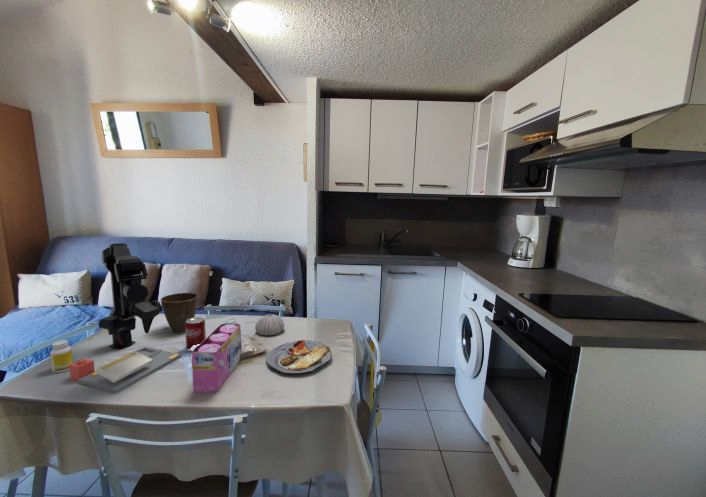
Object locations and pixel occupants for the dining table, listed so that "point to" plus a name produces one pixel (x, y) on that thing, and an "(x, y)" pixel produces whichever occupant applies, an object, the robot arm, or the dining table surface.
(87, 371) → the red block
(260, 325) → the sea urchin shell
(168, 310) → the plant pot
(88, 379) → the panel
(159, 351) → the socket
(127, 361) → the yellow-striped white slab
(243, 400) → the dining table surface
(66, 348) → the supplement bottle
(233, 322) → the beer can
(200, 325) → the soda can
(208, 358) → the gum box
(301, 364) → the food plate
